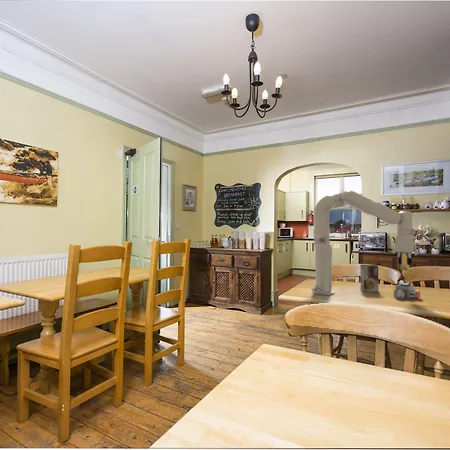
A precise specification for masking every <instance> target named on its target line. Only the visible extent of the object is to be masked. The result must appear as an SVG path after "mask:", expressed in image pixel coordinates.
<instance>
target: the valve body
mask: <svg viewBox="0 0 450 450" xmlns="http://www.w3.org/2000/svg"><path fill="white" fill-rule="evenodd" d="M393 297H394V298H395V299H397V300H403V299H404V300H409V301H410V300H412V299H414V298H415V300H417V301H418V300H421V291H420V290H416V289H415V286H414V285H411V284H404V283H400V284H399V283H398V284H396V285H395V289H393Z"/></svg>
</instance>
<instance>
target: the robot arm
mask: <svg viewBox="0 0 450 450" xmlns="http://www.w3.org/2000/svg"><path fill="white" fill-rule="evenodd" d="M345 206H349V207H351V208H354V209H356V210H357V211H360V212H361V213H363V214H365V215H370V216H374V217H376V218H379V219H380V220H381V221H382V222H383V223H384V224H385V225H397V226H396V227H397V228H396V229H397V232H396V233H397V235H395V240H394V248H393V249H392V250H391V252H392V253H393V254H395V255H396V256H397V259H398V260H397V261H398V265H401V252H404V253H408V256H409V258H408V265H409V266H411V265H412V263H413V258H414V257H416V256H417V255H419V254H420V251H419V250H418V249H417V242H416V236H415V235H413V234H416V230H413V212H411V211H399V212H398V211H397V210H395V209H392V208H391V207H388V206H386V205H384V204H382V203H380V202H377V201H374V200H372V199H369V198H368V197H366V196H364V195H362V194H360V193H358V192H356V191H353V190H350V189H348V190H345V191H343V192H340V193H335V194H327V195H325V196H323V197H322V198H321V199H319V201H318V202H317V204H316V205H315V208H314V214H313V215H314V228H313V242H314V250H315V260H314V261H315V264H314V265H315V271H314V272H315V274H314V275H315V277H314V278H315V279H314V281H315V285H314V287H312V288H311V292H312V293H314V294H316V295H322V296H331V295H334V294H335V290H332V289H333V287H332V286H333V282H332V281H333V279H332V276H333V275H332V274H333V273H332V271H333V267H332V266H333V264H332V263H333V262H332V261H333V259H332V258H333V247H332V245H331V243H330V235H331V229H330V211H331V210H332V209H337V208H340V207H341V208H342V207H345Z"/></svg>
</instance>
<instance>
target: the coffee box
mask: <svg viewBox="0 0 450 450" xmlns="http://www.w3.org/2000/svg"><path fill="white" fill-rule="evenodd" d="M359 266H360V273H359V274H360V290H361V291H362V292H379V291H380V289H379V265H377V264H360V265H359Z"/></svg>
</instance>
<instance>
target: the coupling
mask: <svg viewBox="0 0 450 450" xmlns="http://www.w3.org/2000/svg"><path fill="white" fill-rule="evenodd" d="M408 258H409V256H408V253H404V252H401V264H400V270H401V271H410V265H408Z"/></svg>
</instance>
